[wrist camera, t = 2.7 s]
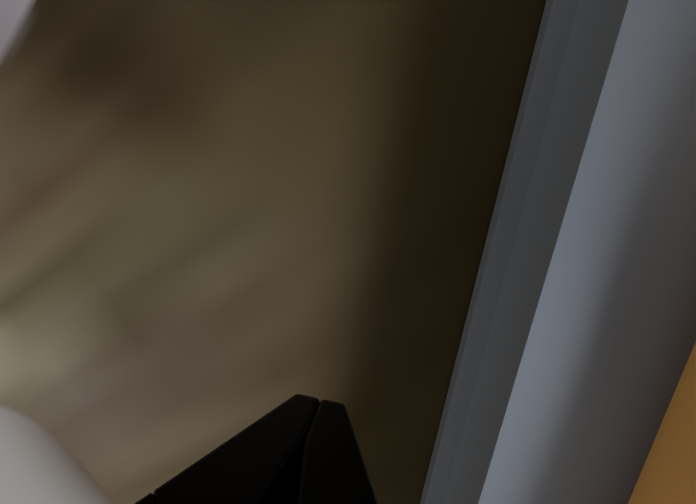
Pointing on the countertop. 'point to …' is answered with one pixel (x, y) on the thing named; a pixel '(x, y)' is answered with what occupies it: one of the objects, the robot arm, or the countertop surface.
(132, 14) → the countertop surface
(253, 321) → the countertop surface
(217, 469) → the robot arm
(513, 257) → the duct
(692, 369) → the tan cylindrical rod
